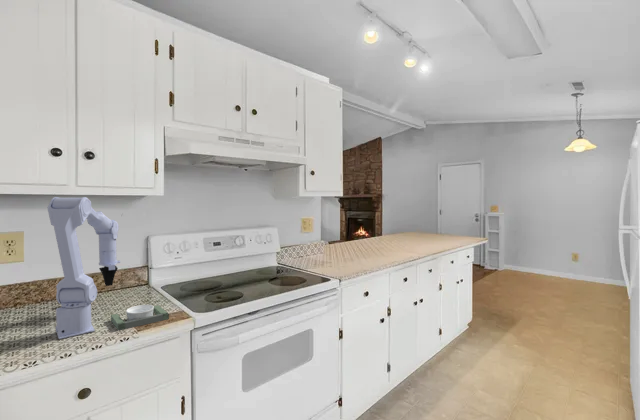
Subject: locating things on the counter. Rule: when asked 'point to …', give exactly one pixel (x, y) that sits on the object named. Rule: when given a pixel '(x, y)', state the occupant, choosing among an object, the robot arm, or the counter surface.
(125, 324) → the chute bay
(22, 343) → the counter surface
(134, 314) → the ramekin
